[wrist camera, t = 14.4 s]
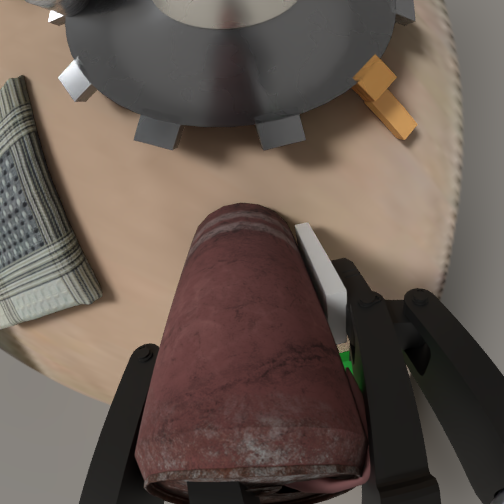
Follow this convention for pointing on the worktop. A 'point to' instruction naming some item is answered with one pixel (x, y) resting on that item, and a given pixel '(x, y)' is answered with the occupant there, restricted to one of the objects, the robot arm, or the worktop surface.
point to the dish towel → (34, 224)
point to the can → (251, 374)
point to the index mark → (393, 115)
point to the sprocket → (226, 59)
